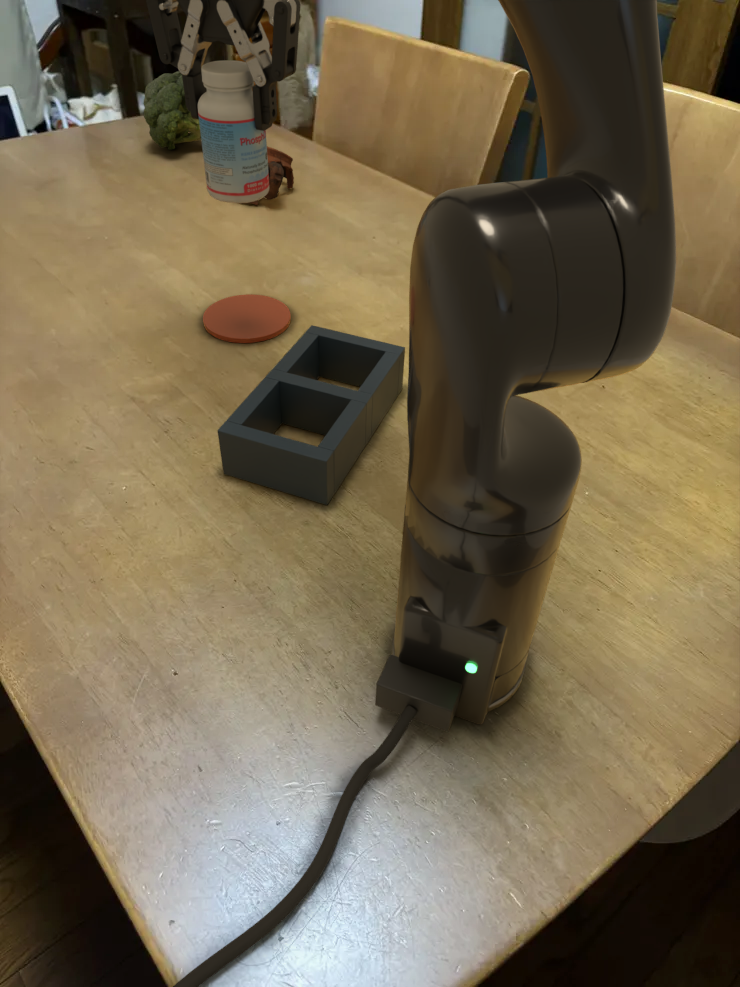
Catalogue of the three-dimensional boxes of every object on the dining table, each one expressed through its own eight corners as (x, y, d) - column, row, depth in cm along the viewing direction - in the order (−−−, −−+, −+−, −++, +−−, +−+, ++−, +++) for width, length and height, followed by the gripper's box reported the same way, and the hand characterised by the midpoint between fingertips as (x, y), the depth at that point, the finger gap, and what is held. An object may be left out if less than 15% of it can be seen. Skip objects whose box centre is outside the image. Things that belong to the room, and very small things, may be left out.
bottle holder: (327, 505, 65) (326, 461, 61) (223, 474, 67) (216, 430, 64) (402, 388, 77) (405, 347, 74) (312, 366, 80) (311, 324, 77)
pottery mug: (216, 194, 114) (229, 137, 112) (270, 213, 120) (284, 159, 118) (248, 200, 105) (262, 139, 103) (305, 220, 111) (320, 162, 108)
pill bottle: (259, 208, 72) (249, 78, 64) (198, 201, 73) (181, 72, 65) (277, 185, 76) (270, 60, 69) (220, 178, 77) (206, 55, 69)
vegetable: (214, 155, 119) (124, 104, 115) (210, 189, 131) (129, 143, 128) (247, 92, 120) (159, 39, 117) (240, 131, 133) (161, 84, 129)
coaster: (265, 351, 82) (265, 346, 82) (186, 331, 84) (185, 326, 84) (305, 309, 89) (305, 304, 88) (230, 292, 91) (230, 287, 91)
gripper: (104, -110, 58) (143, 123, 69) (271, -96, 54) (283, 147, 66) (159, -117, 63) (187, 101, 74) (315, -105, 59) (319, 122, 71)
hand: (232, 121), depth 70 cm, fingers closed on pill bottle, 6 cm apart
